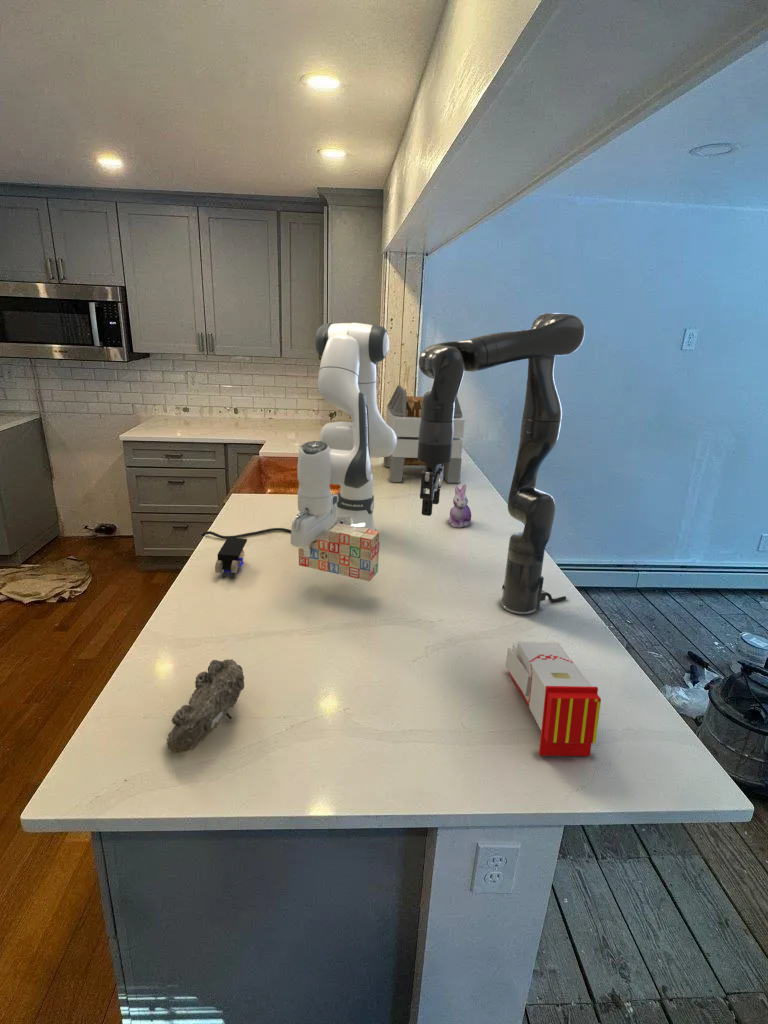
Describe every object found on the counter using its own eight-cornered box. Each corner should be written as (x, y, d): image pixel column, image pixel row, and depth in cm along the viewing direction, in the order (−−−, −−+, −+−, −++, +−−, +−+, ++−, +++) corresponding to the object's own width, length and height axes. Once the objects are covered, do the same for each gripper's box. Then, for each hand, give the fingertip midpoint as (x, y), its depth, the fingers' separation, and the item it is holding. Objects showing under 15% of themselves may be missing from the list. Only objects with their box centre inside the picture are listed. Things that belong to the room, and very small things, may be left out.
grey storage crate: (382, 463, 289) (386, 382, 275) (445, 464, 293) (451, 384, 279) (390, 482, 257) (394, 392, 243) (460, 483, 261) (468, 394, 247)
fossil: (192, 660, 117) (244, 628, 112) (224, 691, 120) (276, 661, 115) (142, 746, 98) (202, 712, 93) (182, 779, 101) (242, 748, 96)
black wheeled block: (238, 584, 162) (249, 557, 175) (236, 562, 158) (247, 536, 172) (215, 584, 161) (227, 556, 175) (212, 561, 158) (225, 535, 171)
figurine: (457, 529, 205) (460, 490, 200) (441, 520, 214) (444, 482, 209) (478, 526, 210) (482, 487, 205) (462, 517, 218) (465, 480, 213)
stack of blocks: (298, 566, 156) (297, 524, 151) (308, 557, 161) (308, 517, 157) (370, 581, 149) (371, 538, 144) (378, 571, 154) (380, 530, 150)
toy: (554, 624, 127) (610, 694, 97) (548, 679, 130) (602, 763, 100) (500, 623, 126) (541, 693, 97) (496, 678, 129) (534, 763, 100)
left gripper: (306, 518, 141) (306, 568, 146) (341, 494, 159) (340, 539, 164) (284, 513, 143) (285, 563, 148) (321, 490, 161) (320, 535, 166)
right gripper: (446, 448, 117) (440, 521, 123) (457, 435, 130) (451, 502, 136) (411, 444, 119) (407, 517, 125) (425, 432, 132) (421, 498, 138)
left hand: (314, 550), depth 156 cm, fingers closed on stack of blocks, 6 cm apart
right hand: (430, 509), depth 130 cm, fingers open, 8 cm apart
